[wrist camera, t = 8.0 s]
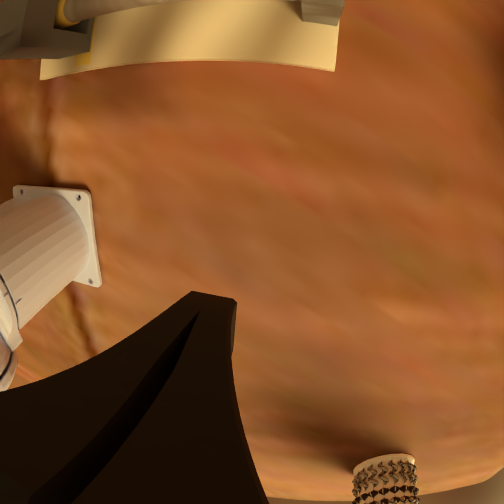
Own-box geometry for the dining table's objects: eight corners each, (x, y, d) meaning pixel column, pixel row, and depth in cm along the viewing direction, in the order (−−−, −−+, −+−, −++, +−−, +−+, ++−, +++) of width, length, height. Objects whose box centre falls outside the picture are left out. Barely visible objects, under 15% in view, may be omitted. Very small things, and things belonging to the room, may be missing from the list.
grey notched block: (58, 59, 14) (-10, 60, 9) (69, -10, 12) (7, -24, 6) (89, 51, 14) (19, 46, 9) (101, -21, 12) (40, -43, 6)
